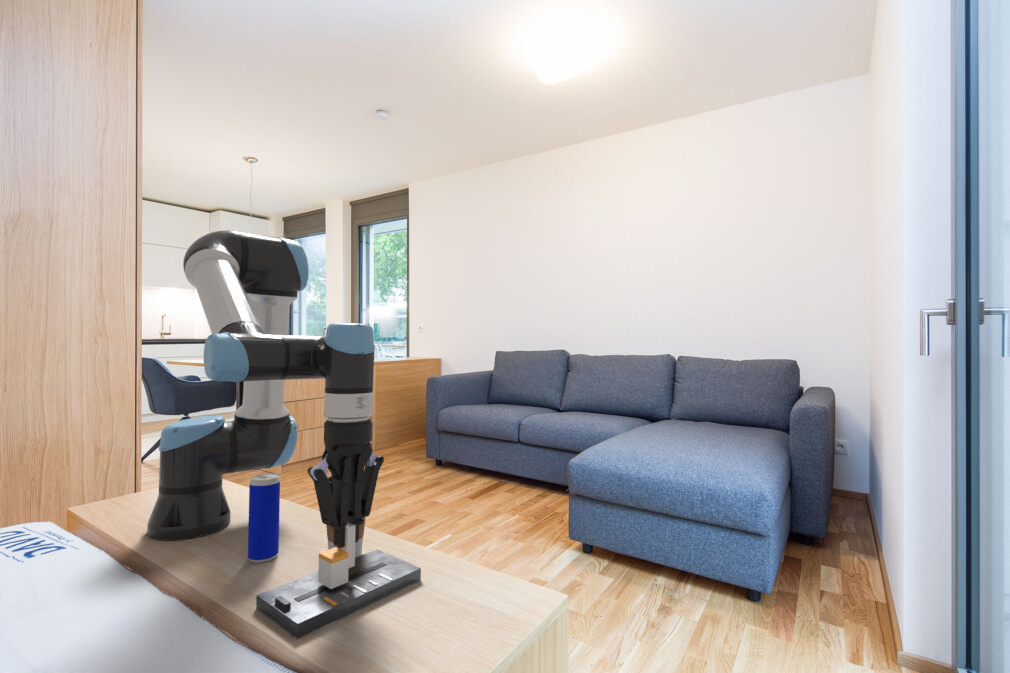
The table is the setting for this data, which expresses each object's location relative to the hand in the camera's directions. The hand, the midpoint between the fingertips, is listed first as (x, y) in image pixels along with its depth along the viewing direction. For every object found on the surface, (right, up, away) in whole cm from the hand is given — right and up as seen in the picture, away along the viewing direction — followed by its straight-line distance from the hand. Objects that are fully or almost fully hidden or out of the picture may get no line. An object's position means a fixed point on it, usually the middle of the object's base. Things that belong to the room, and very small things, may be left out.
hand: (345, 565), depth 79 cm
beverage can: (-19, -5, +12) cm, 24 cm away
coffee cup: (-5, -5, +14) cm, 15 cm away
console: (0, -4, 0) cm, 4 cm away
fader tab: (-1, -2, -2) cm, 3 cm away
